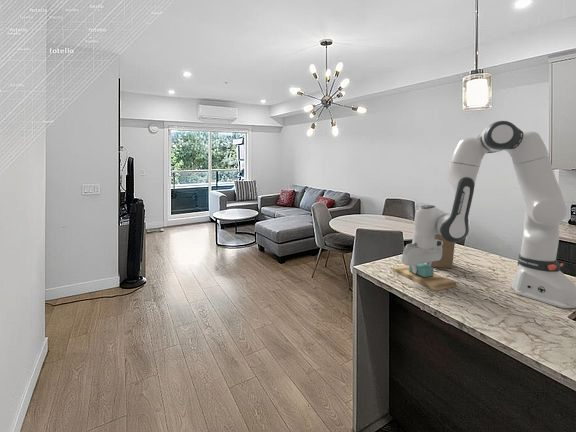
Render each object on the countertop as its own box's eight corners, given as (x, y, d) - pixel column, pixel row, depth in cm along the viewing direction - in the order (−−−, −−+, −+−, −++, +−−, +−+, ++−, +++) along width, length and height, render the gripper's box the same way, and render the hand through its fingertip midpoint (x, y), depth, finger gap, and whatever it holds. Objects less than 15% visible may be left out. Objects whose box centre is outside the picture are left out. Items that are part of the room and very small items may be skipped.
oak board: (456, 286, 130) (456, 282, 130) (434, 290, 126) (435, 287, 125) (411, 267, 153) (412, 264, 153) (392, 270, 149) (392, 267, 148)
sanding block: (432, 276, 137) (433, 267, 136) (424, 278, 135) (425, 269, 134) (417, 269, 145) (418, 261, 144) (409, 271, 143) (409, 262, 142)
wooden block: (452, 268, 151) (456, 228, 148) (430, 267, 153) (434, 227, 150) (446, 262, 161) (450, 224, 157) (425, 260, 163) (429, 223, 159)
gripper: (410, 246, 130) (407, 277, 133) (446, 241, 138) (443, 271, 141) (399, 242, 136) (397, 272, 139) (434, 238, 144) (431, 266, 146)
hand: (420, 271), depth 140 cm, fingers closed on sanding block, 5 cm apart
